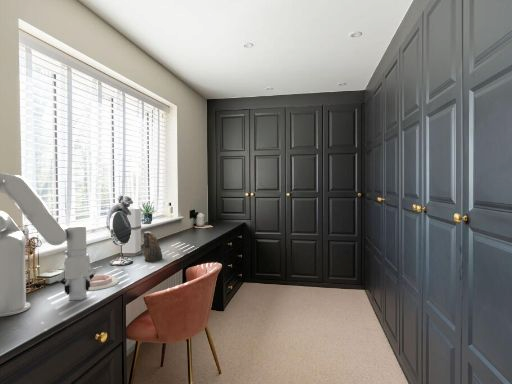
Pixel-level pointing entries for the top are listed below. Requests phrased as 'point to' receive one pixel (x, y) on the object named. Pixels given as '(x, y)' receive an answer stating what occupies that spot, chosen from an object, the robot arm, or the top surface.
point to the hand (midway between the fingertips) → (77, 291)
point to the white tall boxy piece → (134, 234)
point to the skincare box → (77, 288)
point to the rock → (151, 248)
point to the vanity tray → (102, 282)
